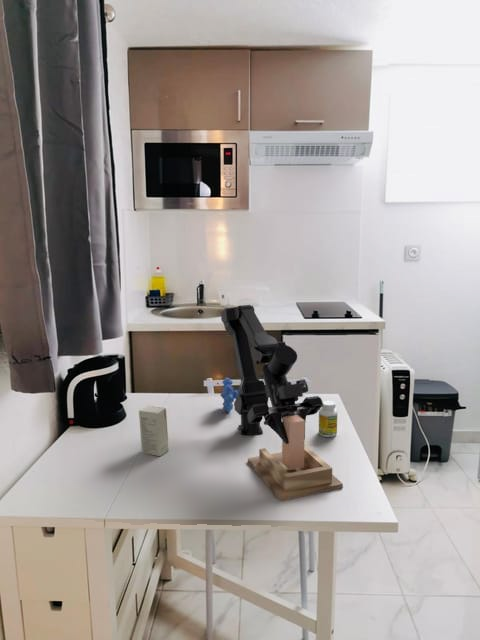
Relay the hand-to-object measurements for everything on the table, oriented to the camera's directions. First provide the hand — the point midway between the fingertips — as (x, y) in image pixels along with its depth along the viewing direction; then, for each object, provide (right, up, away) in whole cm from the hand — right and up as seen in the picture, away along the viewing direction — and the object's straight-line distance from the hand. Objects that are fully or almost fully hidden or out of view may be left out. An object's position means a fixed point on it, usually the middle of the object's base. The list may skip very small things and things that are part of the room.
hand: (295, 442), depth 119 cm
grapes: (-16, -1, +44) cm, 47 cm away
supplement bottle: (+12, -4, +27) cm, 30 cm away
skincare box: (-37, -7, +16) cm, 40 cm away
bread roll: (+2, -2, +43) cm, 43 cm away
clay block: (0, -6, +2) cm, 7 cm away
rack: (0, -9, +3) cm, 9 cm away
